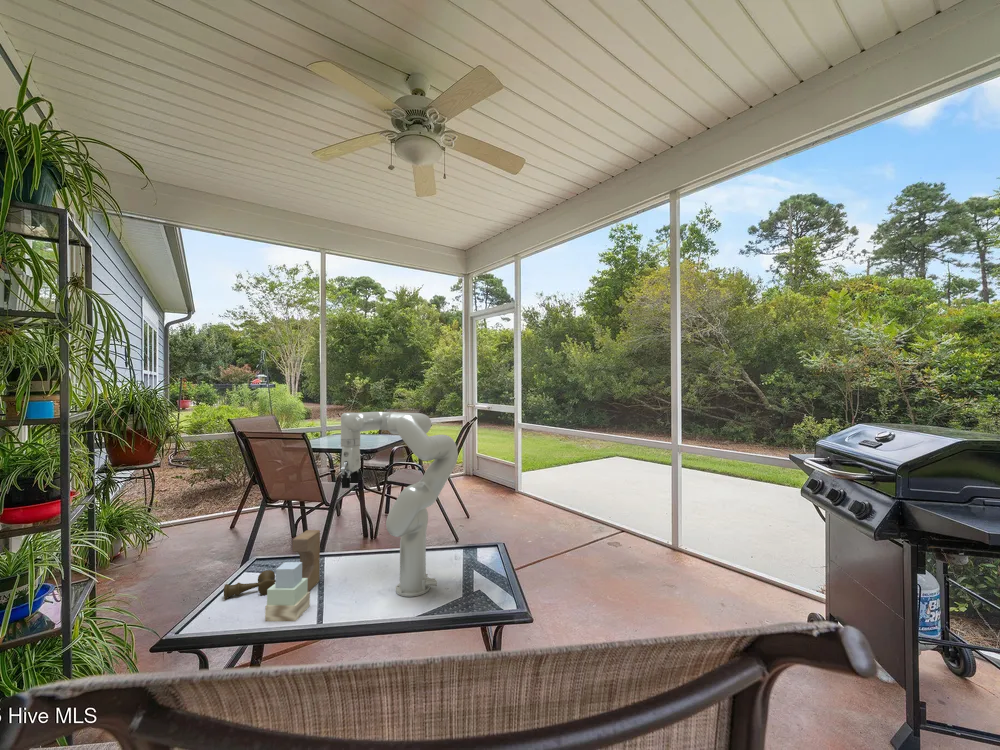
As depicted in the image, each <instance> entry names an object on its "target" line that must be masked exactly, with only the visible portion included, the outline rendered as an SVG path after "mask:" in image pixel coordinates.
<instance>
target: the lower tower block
mask: <svg viewBox="0 0 1000 750" xmlns="http://www.w3.org/2000/svg"><path fill="white" fill-rule="evenodd" d="M310 602H311V592H310V591H309V592H307V594H306V595H305V596H304V597H303V598H302V599H301V600H299V601H298V602H297V603H296V604H295V605H294V606H289V605H267V604H266V605H265V610H264V617H265V618H264V621H265V622H297V621H298V620H299V618H301V616H302V615H303V614H304V613H305V612H306V611H307V609H309V608H310V607H311V606H310V605H311V603H310ZM296 620H297V621H296Z"/></svg>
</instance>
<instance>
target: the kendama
mask: <svg viewBox="0 0 1000 750" xmlns="http://www.w3.org/2000/svg"><path fill="white" fill-rule="evenodd" d="M275 581H276V572H275V571H273V570H271V569H270V570H269V569H267V570H264V571H262V572H261V573H259V575H258V577H257V582H251V583H241V582H237V583H235V584H228V583H225V584H224V587H223V598H224V600H227V598H228V597H229V598H230V597H232V596H240V595H241V594H243V593H244V592H246V591H250V590H252V589H256V588H258V589H257V590H258V593H259V594H260V595H261V596H267V589H269V588H270V587H271V586H272V585H274V584H275ZM229 598H228V599H229Z"/></svg>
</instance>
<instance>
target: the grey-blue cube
mask: <svg viewBox="0 0 1000 750" xmlns="http://www.w3.org/2000/svg"><path fill="white" fill-rule="evenodd" d="M275 579H276V581H275V588H294V587H295V586H296V585H297V584H298V583H299V582H300V581H301V580H302V562H300V561H290V562H289V561H287V562H286V561H285V562H283V563H282V564H281V565H279V566H278V567H277V568H275Z"/></svg>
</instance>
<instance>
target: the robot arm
mask: <svg viewBox="0 0 1000 750" xmlns="http://www.w3.org/2000/svg"><path fill="white" fill-rule="evenodd" d="M431 428H432V420H431V418H430V416H428V414H425V413H420V412H398V411H389V412H388V411H366V412H365V411H364V412H343V413H342V414H341V416H340V448H341V460H340V461H341V463H340V464H341V465H340V466H341V468H340V471H341V472H340V474H341V489H350V488H351V484H358V483H359V472H360V471H359V469H361V465H362V464H361V463H362V462H361V450H360V447H361V432H370V431H379V430H380V431H388V432H389V433H390V434H391V435H399V436H400V438H401V439H402V441H403V442H404V443H405V444H406V445H407V447H408V448H409V449H410V451H412V453H413V454H414V455H415V457H416V458H418V459H419V460H421V461H423V462H424V461H425V462H429V461H432V462H431V463H430V465H429V466H428V467H427V468H426V470H425V472H424V473H423V476H422V477H421V479H420V480H419V481H417V482H415V483H413V484H410V485H408V486H406V487H404V488H403V490H402V491H401V492H400V493H399V495H398V497H396V500H395V501H394V503H393V505H392V507H391V508H390V510H389V512H388V514H387V517H386V521H385V526H386V531H387V532H388V534H389V535H391V536H393V537H395V538H400V541H399V583H398V584H397V585H396V586H395V593H396V594H397V595H399V596H401V597H405V598H406V597H408V598H409V597H410V598H411V597H418V596H423V595H424V594H427V592H429V591H430V588H431V586H432V587H435V586H436V587H437V586H438V579H436V578H435V577H432V578H431V577H429V575H428V573H427V569H426V566H427V562H426V561H427V557H426V556H427V551H426V549H427V548H426V547H427V546H426V545H427V544H426V543H427V529H428V522H429V512H428V510H427V508H429V507H431V506H432V505H434V503H435V502H436V501H437V500H438V497H439V495H440V494H441V493H442V490H443V488H444V486H445V485H446V483H447V481H448V480H449V478H450V476H451V474H452V473H453V471H454V469H455V467H456V465H457V462H458V458H459V457H458V456H459V451H458V447H457V444H456V442H455V440H454V438H452V437H451V436H450V435H447V434H435V435H428V434H427V433H429V431H430V430H431Z"/></svg>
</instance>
